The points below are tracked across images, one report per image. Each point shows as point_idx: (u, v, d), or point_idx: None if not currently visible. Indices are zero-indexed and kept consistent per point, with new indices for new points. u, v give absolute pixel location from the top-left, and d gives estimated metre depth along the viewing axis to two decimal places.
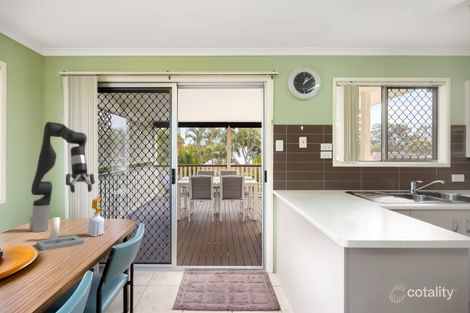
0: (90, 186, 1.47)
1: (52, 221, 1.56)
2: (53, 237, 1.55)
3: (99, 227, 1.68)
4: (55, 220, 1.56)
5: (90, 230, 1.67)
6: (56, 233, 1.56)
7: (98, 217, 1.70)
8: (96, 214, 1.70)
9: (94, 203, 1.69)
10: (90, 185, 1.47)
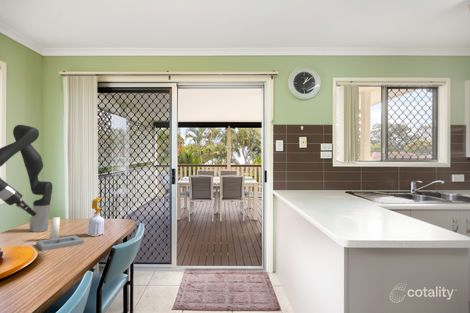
0: (29, 213, 1.44)
1: (52, 221, 1.56)
2: (53, 237, 1.55)
3: (99, 227, 1.68)
4: (55, 220, 1.56)
5: (90, 230, 1.67)
6: (56, 233, 1.56)
7: (98, 217, 1.70)
8: (96, 214, 1.70)
9: (94, 203, 1.69)
10: (28, 212, 1.44)
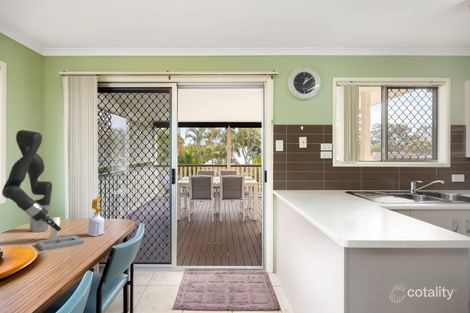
0: (55, 228, 1.55)
1: None
2: (53, 237, 1.55)
3: (99, 227, 1.68)
4: (55, 220, 1.56)
5: (90, 230, 1.67)
6: (56, 233, 1.56)
7: (98, 217, 1.70)
8: (96, 214, 1.70)
9: (94, 203, 1.69)
10: None
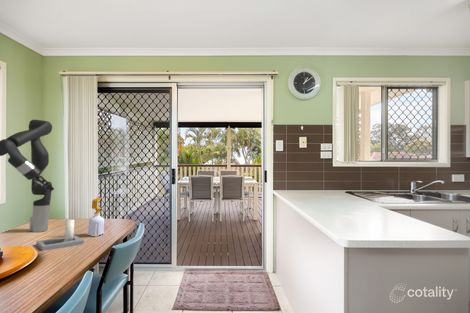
0: (47, 188, 1.50)
1: (66, 223, 1.50)
2: (67, 240, 1.50)
3: (99, 227, 1.68)
4: (69, 222, 1.50)
5: (90, 230, 1.67)
6: (70, 236, 1.51)
7: (98, 217, 1.70)
8: (96, 214, 1.70)
9: (94, 203, 1.69)
10: (46, 187, 1.49)
